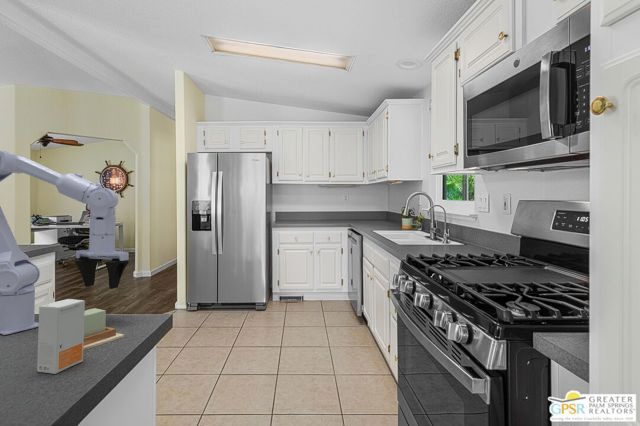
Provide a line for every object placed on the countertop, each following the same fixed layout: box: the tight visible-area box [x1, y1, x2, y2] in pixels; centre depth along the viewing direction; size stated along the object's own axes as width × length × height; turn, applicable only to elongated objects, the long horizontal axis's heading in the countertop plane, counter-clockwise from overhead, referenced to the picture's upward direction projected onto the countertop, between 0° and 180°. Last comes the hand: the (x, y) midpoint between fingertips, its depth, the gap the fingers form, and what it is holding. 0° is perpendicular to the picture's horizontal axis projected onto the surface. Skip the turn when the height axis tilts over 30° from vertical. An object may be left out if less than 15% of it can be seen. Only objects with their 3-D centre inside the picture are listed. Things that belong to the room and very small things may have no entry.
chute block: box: [84, 307, 107, 337], centre depth 80 cm, size 4×6×6 cm, turn 155°
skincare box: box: [36, 298, 86, 375], centre depth 67 cm, size 6×4×12 cm
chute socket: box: [83, 326, 125, 352], centre depth 80 cm, size 10×12×2 cm
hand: (101, 287), depth 93 cm, fingers open, 7 cm apart
